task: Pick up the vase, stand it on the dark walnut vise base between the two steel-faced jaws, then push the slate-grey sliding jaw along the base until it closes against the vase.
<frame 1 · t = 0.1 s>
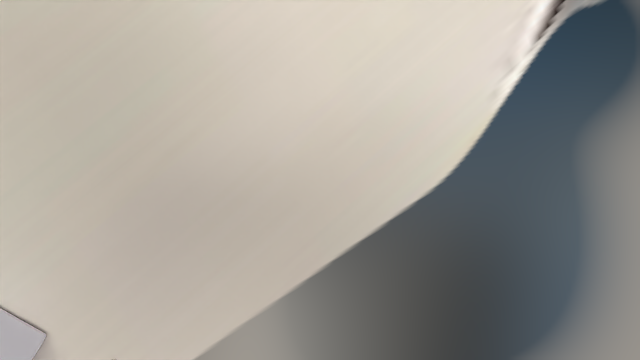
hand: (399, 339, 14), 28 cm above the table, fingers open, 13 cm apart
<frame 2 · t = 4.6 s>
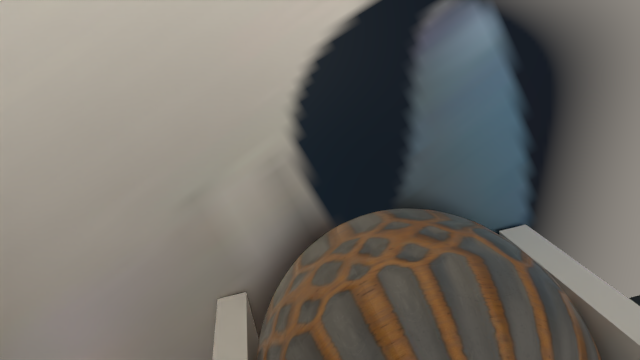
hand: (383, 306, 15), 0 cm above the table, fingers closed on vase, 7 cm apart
vase: (378, 295, 16), on the table, touching gripper
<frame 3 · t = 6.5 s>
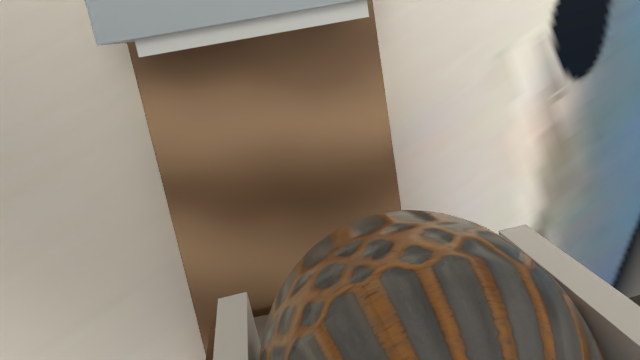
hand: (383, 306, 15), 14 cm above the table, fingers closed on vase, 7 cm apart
vase: (380, 297, 16), point 14 cm above the table, touching gripper
vise base: (281, 174, 29), on the table
when the fingers open (3 cm above the table, at t = 8.9 s): vase drops 1 cm, resting on vise base.
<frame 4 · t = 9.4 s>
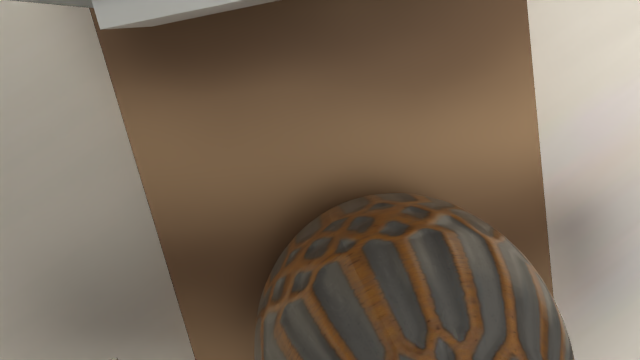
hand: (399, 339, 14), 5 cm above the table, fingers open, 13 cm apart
vase: (368, 276, 17), point 1 cm above the table, touching vise base
vise base: (353, 224, 18), on the table
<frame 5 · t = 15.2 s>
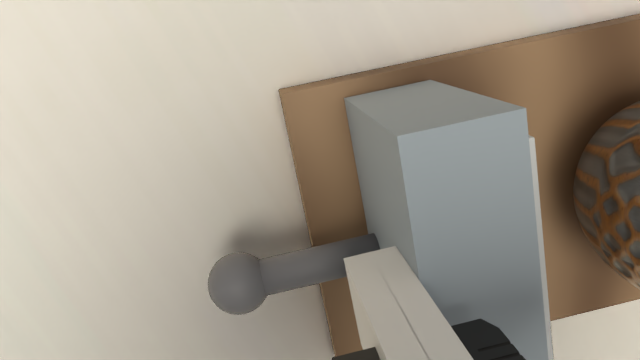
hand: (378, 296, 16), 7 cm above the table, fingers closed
vase: (625, 170, 22), point 1 cm above the table, touching vise base
vise base: (576, 168, 23), on the table
jaw: (358, 283, 17), point 5 cm above the table, slide at 1.5 cm, touching gripper
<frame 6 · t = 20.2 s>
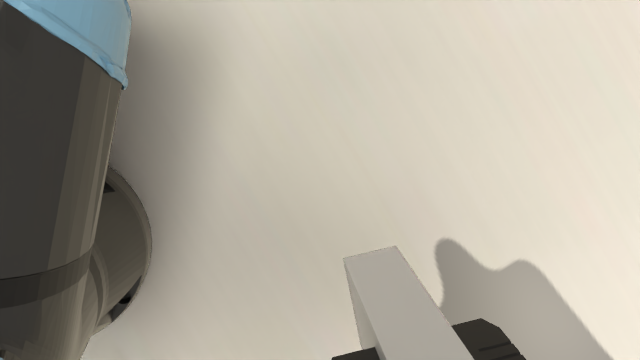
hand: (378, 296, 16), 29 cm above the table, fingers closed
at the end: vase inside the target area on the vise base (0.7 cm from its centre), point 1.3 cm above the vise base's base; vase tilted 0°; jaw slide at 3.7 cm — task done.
